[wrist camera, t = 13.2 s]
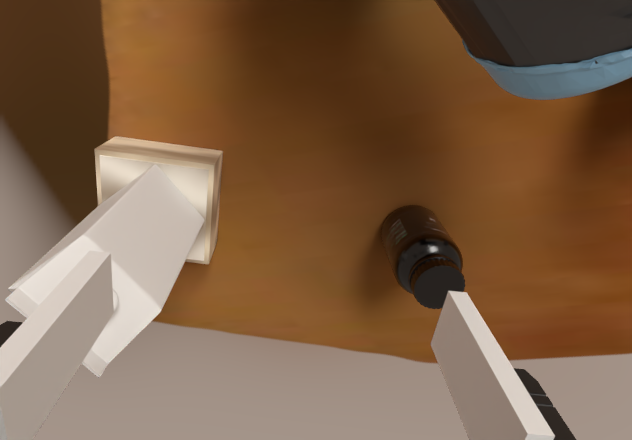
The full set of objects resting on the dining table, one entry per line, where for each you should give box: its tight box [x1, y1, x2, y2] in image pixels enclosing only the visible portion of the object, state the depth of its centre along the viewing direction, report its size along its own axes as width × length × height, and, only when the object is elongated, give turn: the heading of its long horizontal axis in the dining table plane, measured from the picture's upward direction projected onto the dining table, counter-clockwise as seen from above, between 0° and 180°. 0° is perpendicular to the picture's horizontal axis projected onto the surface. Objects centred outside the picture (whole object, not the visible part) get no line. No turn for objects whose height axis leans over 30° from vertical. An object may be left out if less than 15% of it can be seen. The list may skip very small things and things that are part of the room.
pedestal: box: [95, 136, 223, 264], centre depth 45 cm, size 11×11×5 cm
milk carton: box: [5, 165, 204, 377], centre depth 34 cm, size 7×7×19 cm
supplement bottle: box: [381, 205, 465, 309], centre depth 45 cm, size 7×7×12 cm
